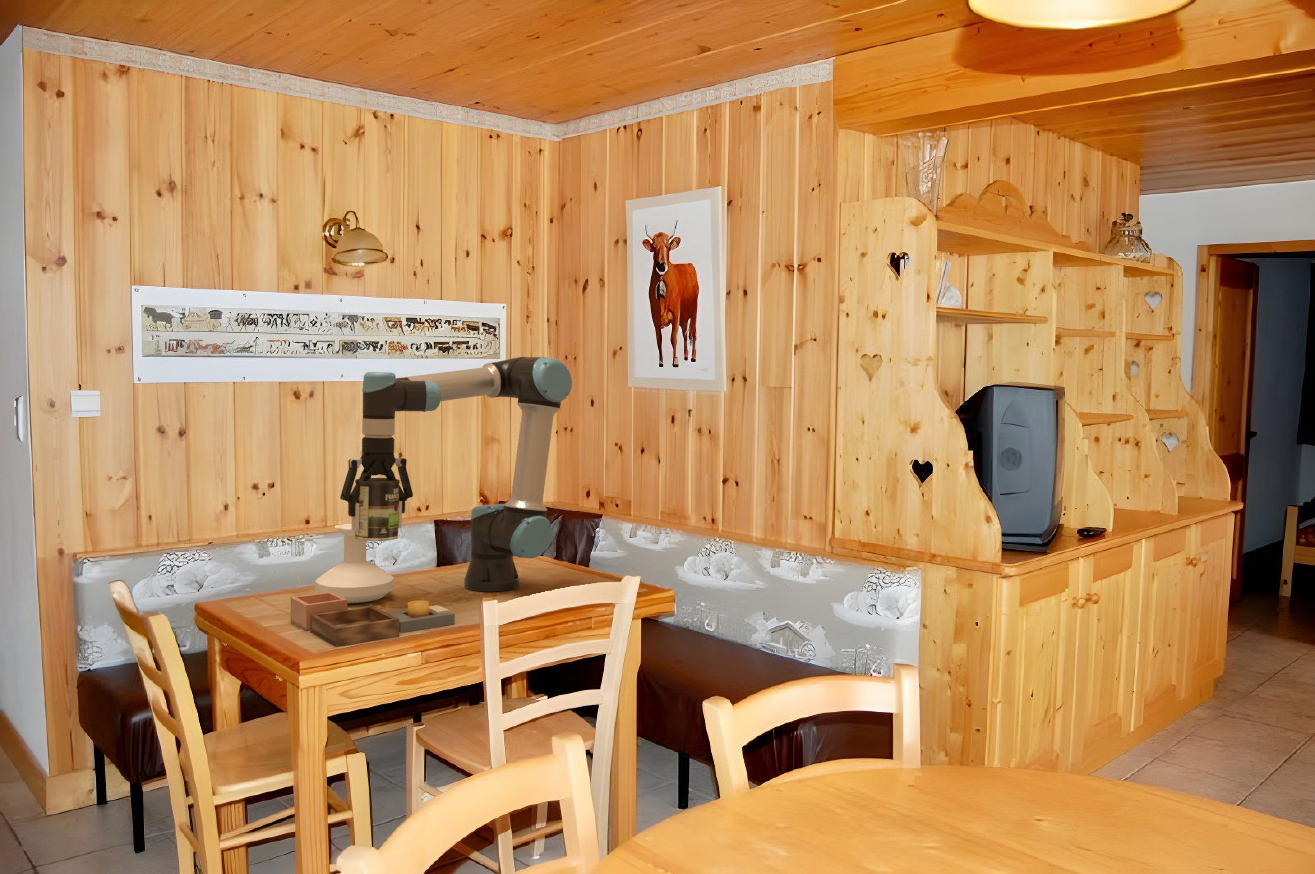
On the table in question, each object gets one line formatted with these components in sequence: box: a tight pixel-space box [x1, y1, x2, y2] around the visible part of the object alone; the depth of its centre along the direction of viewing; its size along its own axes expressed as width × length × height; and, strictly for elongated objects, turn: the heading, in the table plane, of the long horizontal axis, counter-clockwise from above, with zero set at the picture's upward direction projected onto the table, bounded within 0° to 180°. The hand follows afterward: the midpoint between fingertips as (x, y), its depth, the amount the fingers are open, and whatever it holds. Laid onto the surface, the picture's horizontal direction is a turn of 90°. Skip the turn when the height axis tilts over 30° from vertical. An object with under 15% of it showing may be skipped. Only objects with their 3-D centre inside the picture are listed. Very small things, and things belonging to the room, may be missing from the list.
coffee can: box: [354, 477, 401, 542], centre depth 252 cm, size 10×10×14 cm
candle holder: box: [314, 522, 395, 604], centre depth 276 cm, size 20×20×19 cm
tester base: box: [386, 604, 456, 634], centre depth 252 cm, size 14×10×3 cm
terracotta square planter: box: [290, 592, 348, 632], centre depth 251 cm, size 10×10×6 cm
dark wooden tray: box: [310, 605, 400, 647], centre depth 242 cm, size 15×15×4 cm
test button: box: [407, 599, 430, 618], centre depth 252 cm, size 5×5×4 cm
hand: (376, 528), depth 252 cm, fingers closed on coffee can, 10 cm apart
